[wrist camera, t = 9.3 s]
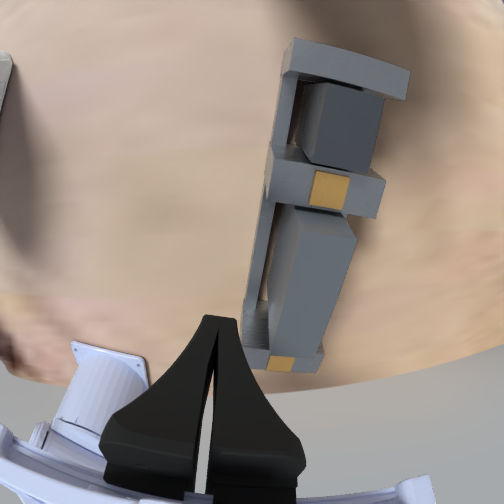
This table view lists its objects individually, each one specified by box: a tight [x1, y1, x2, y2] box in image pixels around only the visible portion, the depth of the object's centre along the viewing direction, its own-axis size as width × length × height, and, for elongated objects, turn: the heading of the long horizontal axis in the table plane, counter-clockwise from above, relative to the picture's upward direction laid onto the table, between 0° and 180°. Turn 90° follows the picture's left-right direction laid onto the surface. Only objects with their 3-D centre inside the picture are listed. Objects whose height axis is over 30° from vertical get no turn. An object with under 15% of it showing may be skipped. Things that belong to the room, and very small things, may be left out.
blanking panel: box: [267, 203, 358, 359], centre depth 18 cm, size 8×2×7 cm, turn 172°
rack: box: [239, 38, 410, 373], centre depth 17 cm, size 19×5×6 cm, turn 172°
